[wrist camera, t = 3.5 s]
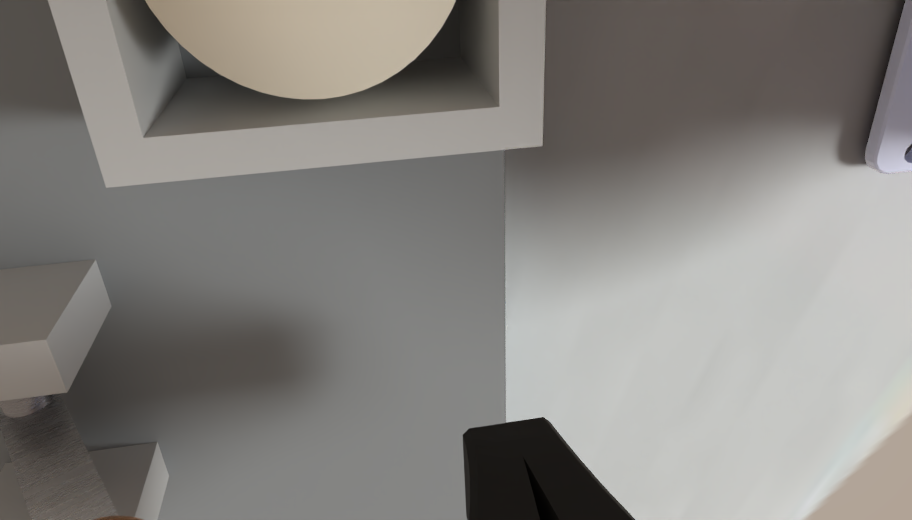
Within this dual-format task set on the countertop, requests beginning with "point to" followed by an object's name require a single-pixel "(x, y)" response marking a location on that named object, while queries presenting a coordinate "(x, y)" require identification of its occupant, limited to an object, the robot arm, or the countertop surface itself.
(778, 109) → the countertop surface
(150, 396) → the panel
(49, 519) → the lever
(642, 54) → the countertop surface
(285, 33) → the button
